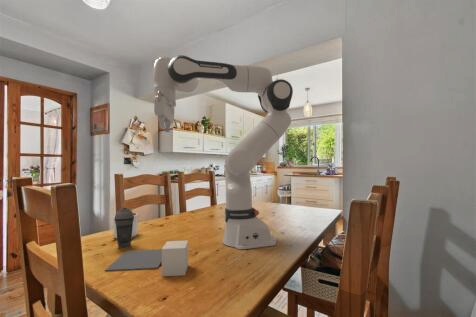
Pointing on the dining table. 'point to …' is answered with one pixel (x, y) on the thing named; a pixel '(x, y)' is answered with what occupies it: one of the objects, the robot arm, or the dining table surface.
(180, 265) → the white upright block
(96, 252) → the dining table surface
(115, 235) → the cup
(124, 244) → the beverage cup
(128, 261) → the mat
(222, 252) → the dining table surface
